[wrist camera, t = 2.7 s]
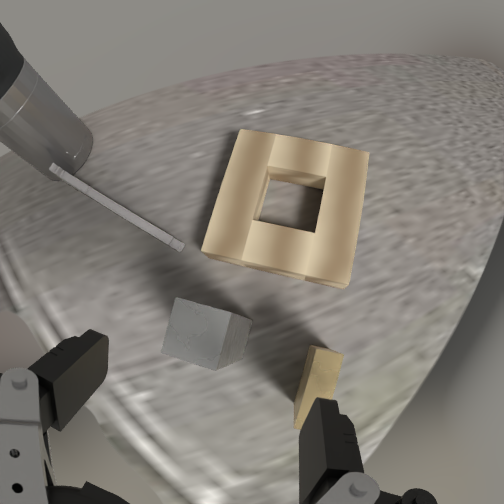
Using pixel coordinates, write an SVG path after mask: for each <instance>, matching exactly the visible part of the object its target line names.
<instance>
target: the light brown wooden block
mask: <svg viewBox="0 0 504 504" xmlns="http://www.w3.org/2000/svg"><path fill="white" fill-rule="evenodd" d="M343 357H344V354H341V353H339V352H336V351H333V350H331V349H327V348H322V347H318V346H313V345H310V346H309V350H308V354H307V358H306V362H305V365H304V369H303V373H302V376H301V380H300V383H299V387H298V391H297V394H296V397H295V401H294V428H295V429H300V430H301V428H302V425H303V423H304V421H305V419H306V417H307V415H308V413H309V411H310V409H311V406H312V404H313V402H314V400H315V399H316V398H317V397H320V398H326V399H331V400H332V397H333V393H334V390H335V386H336V383H337V379H338V375H339V372H340V368H341V364H342V360H343Z"/></svg>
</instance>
